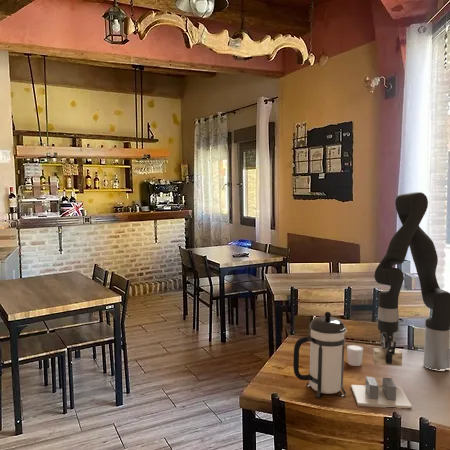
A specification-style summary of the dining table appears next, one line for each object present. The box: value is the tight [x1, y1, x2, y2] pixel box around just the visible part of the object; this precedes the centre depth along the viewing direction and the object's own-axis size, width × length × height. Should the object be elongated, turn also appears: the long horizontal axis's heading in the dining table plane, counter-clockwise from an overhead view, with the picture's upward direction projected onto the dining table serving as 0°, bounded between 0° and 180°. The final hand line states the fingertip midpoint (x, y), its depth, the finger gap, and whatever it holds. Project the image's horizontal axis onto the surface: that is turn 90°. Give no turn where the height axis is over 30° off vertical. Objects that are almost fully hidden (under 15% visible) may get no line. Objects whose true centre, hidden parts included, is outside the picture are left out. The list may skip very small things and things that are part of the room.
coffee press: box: [292, 311, 348, 399], centre depth 161 cm, size 17×16×30 cm
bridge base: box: [350, 376, 413, 409], centre depth 158 cm, size 18×14×6 cm
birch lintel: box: [372, 347, 403, 367], centre depth 171 cm, size 10×4×5 cm, turn 80°
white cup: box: [346, 344, 364, 367], centre depth 188 cm, size 7×7×7 cm
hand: (387, 360), depth 171 cm, fingers closed on birch lintel, 4 cm apart
